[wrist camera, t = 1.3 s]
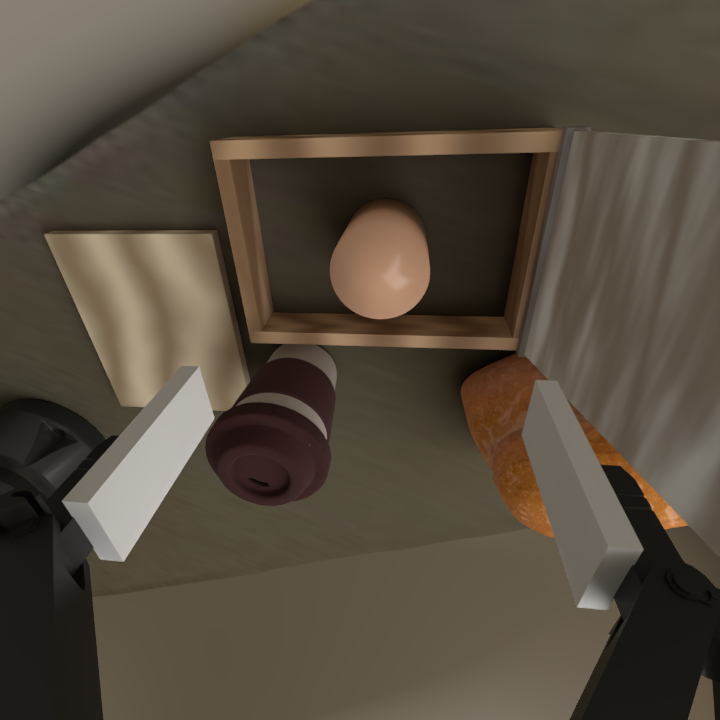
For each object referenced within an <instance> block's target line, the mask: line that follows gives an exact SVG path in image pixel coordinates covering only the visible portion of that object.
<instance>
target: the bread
mask: <svg viewBox="0 0 720 720" xmlns="http://www.w3.org/2000/svg"><path fill="white" fill-rule="evenodd" d="M535 380H548V379H547V378H546V377H545V376H544V375H543V374H542V373H541V372H540V371H539V370H538V368H537V367H536V366H535V365H534V364H533V363H532V362H531V361H530V360H529V359H528V358H527V357H518V356H517V353H515V354H513V355H510V356H508V357H506V358H503V359H501V360H498V361H496V362H494V363H491V364H489V365H487V366H485V367H483V368H482V369H480V370H478V371H476V372H474V373H472V374H471V375H470V376H469V377H468V378H467V379H466V380H465V381H464V383H463V384H462V387H461V398H462V402H463V406H464V410H465V415H466V419H467V423H468V427H469V430H470V432H471V435H472V437H473V439H474V441H475V443H476V445H477V447H478V449H479V450H480V452H481V454H482V456H483V458H484V459H485V461H486V462H487V464H488V466H489V467H490V469H491V470H492V473H493V480H494V482H495V484H496V487H497V489H498V492H499V494H500V496H501V498H502V500H503V501H504V503H505V504H506V506H507V507H508V509H509V510H510V512H511V513H512V514H513V515H514V516H515V517H516V518H517V519H518V520H519V521H520V522H521V523H523V524H524V525H526V526H528V527H529V528H531V529H533V530H535V531H537V532H539V533H541V534H543V535H546V536H549V537H552V538H555V537H554V534H553V531H552V528H551V525H550V522H549V519H548V516H547V513H546V509H545V506H544V503H543V500H542V497H541V494H540V491H539V488H538V485H537V481H536V478H535V475H534V472H533V469H532V466H531V463H530V460H529V457H528V453H527V450H526V447H525V444H524V441H523V438H522V431H523V427H524V423H525V419H526V416H527V412H528V408H529V404H530V400H531V396H532V392H533V388H534V384H535ZM567 401H568V400H567ZM568 403H569V405H570V407H571V408H572V410H573V412H574V414H575V416H576V418H577V420H578V422H579V424H580V426H581V428H582V430H583V432H584V434H585V436H586V438H587V440H588V442H589V444H590V446H591V447H592V449H593V451H594V453H595V455H596V457H597V459H598V461H599V463H600V465H614V466H621V467H622V468H623V469H624V470H625V471H626V472H628V473H629V474H630V475H631V476H632V477H633V478H634V479H635V480H636V482H637V483H638V485H639V487H640V488H641V490H642V492H643V494H644V497H645V498H646V499H647V500H648V502H649V504H650V506H651V507H652V511H654V512H655V514H656V516H657V517H658V519H659V521H660V523H661V524H662V526H663V528H664V529H669V528H674V527H681V526H687V525H688V524H687V523H686V522H685V521H684V520H683V519H682V518H681V517H680V516H679V515H678V514H677V513H676V512H675V511H674V510H673V508H672V507H671V506H670V505H669V504H668V503H667V502H666V501H665V500H664V499H663V498H662V497H661V496H660V495H659V494H658V493H657V492H656V491H655V490H654V489H653V488H652V487H651V486H650V485H649V484H648V483H647V482H646V480H645V479H644V478H643V477H642V476H641V475H640V474H639V473H638V472H637V471H636V470H635V469H634V468H633V467H632V466H631V465H630V464H629V463H628V462H627V461H626V460H625V459H624V458H623V457H622V456H621V455H620V454H619V452H618V451H617V450H616V449H615V448H614V447H613V446H612V445H611V444H610V443H609V442H608V441H607V440H606V439H605V438H604V437H603V436H602V435H601V434H600V433H599V432H598V431H597V430H596V429H595V428H594V427H593V426H592V424H591V423H590V422H589V421H588V420H587V419H586V418H585V417H584V416H583V415H582V414H581V413H580V412H579V411H578V410H577V409H576V408H575V407H574V406H573V405H572V404H571V403H570V402H569V401H568Z"/></svg>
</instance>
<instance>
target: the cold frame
mask: <svg viewBox="0 0 720 720" xmlns="http://www.w3.org/2000/svg"><path fill="white" fill-rule="evenodd" d="M590 128H591V127H563V129H561V128H555V127H554V128H520V129H486V130H452V131H418V132H383V133H349V134H315V135H281V136H246V137H228V138H223V139H217V140H212V141H210V146H211V151H212V156H213V161H214V166H215V170H216V175H217V180H218V185H219V190H220V195H221V200H222V205H223V209H224V214H225V219H226V224H227V229H228V234H229V239H230V244H231V248H232V253H233V258H234V263H235V268H236V273H237V278H238V283H239V287H240V292H241V297H242V302H243V307H244V312H245V317H246V322H247V326H248V331H249V336H250V341H251V343H273V344H308V345H344V346H379V347H415V348H450V349H486V350H516V353H517V356H518V357H527V358H528V359H529V360H530V361H531V362H532V363H533V364H534V365H535V366H536V367H537V368H538V370H539V371H540V372H541V373H542V374H543V375H544V376H545V377H546V378H547V379H548V380H553V381H558V383H559V385H560V387H561V389H562V391H563V393H564V395H565V397H566V399H567V400H568V401H569V402H570V403H571V404H572V405H573V406H574V407H575V408H576V409H577V410H578V411H579V412H580V413H581V414H582V415H583V416H584V417H585V418H586V419H587V420H588V421H589V422H590V423H591V424H592V426H593V427H594V428H595V429H596V430H597V431H598V432H599V433H600V434H601V435H602V436H603V437H604V438H605V439H606V440H607V441H608V442H609V443H610V444H611V445H612V446H613V447H614V448H615V449H616V450H617V451H618V452H619V454H620V455H621V456H622V457H623V458H624V459H625V460H626V461H627V462H628V463H629V464H630V465H631V466H632V467H633V468H634V469H635V470H636V471H637V472H638V473H639V474H640V475H641V476H642V477H643V478H644V479H645V480H646V482H647V483H648V484H649V485H650V486H651V487H652V488H653V489H654V490H655V491H656V492H657V493H658V494H659V495H660V496H661V497H662V498H663V499H664V500H665V501H666V502H667V503H668V504H669V505H670V506H671V507H672V508H673V510H674V511H675V512H676V513H677V514H678V515H679V516H680V517H681V518H682V519H683V520H684V521H685V522H686V523H687V524H688V525H689V526H690V527H691V528H692V529H693V530H694V531H695V532H696V533H697V534H698V535H699V536H700V538H702V539H703V541H704V542H705V543H706V544H707V545H708V546H709V547H710V548H711V549H712V550H713V551H714V552H715V553H716V554H717V555H718V556H719V557H720V141H716V140H703V139H689V138H676V137H663V136H649V135H636V134H623V133H609V132H596V131H590ZM492 153H533V158H532V164H531V169H530V175H529V180H528V186H527V191H526V197H525V202H524V208H523V213H522V219H521V225H520V230H519V236H518V241H517V247H516V252H515V258H514V263H513V269H512V274H511V280H510V286H509V291H508V297H507V302H506V308H505V313H504V317H483V316H432V315H400V316H397V317H394V318H389V319H372V318H367V317H364V316H361V315H359V314H330V313H279V312H274V309H273V303H272V297H271V291H270V284H269V278H268V272H267V266H266V260H265V253H264V247H263V241H262V235H261V229H260V222H259V216H258V210H257V204H256V198H255V191H254V185H253V179H252V173H251V167H250V161H249V159H274V158H318V157H361V156H405V155H448V154H492Z"/></svg>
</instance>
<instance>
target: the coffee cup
mask: <svg viewBox="0 0 720 720" xmlns="http://www.w3.org/2000/svg"><path fill="white" fill-rule="evenodd" d="M336 379H337V370H336V366H335V363H334V361H333V359H332V358H331V356H330V355H329V354H328V353H327V352H326V351H325V350H324V349H322V348H321V347H319V346H317V345H308V344H284V345H282V346H280V347H279V348H277V349H276V350H275V351H274V353H273V354H272V356H271V357H270V358H269V360H268V361H267V363H266V364H264V365H263V366H262V367H261V368H260V369H259V370H258V371H257V373H256V374H255V376H254V377H253V378H252V380H251V381H250V382H249V384H248V385H247V387H246V388H245V389H244V391H243V392H242V393H241V395H240V396H239V398H238V399H237V400H236V402H235V403H234V405H233V406H232V408H230V409H229V410H227V411H225V412H224V413H223V414H222V415H221V416H220V417H219V418H218V419H217V420H216V422H215V424H214V425H213V427H212V429H211V430H210V432H209V434H208V436H207V439H206V446H205V448H206V455H207V458H208V461H209V463H210V465H211V467H212V469H213V470H214V472H215V473H216V474H217V475H218V476H219V478H220V480H221V481H222V483H223V484H224V486H225V487H226V488H227V489H228V490H230V491H231V492H232V493H233V494H235V495H236V496H238V497H240V498H242V499H244V500H246V501H248V502H252V503H255V504H259V505H267V506H277V505H282V504H286V503H289V502H292V501H298V500H301V499H304V498H307V497H309V496H310V495H312V494H314V493H315V492H316V491H318V490H319V489H320V488H321V487H322V485H323V484H324V482H325V480H326V478H327V475H328V471H329V467H330V462H331V452H330V447H329V439H330V433H331V426H332V420H333V413H334V406H335V385H336Z"/></svg>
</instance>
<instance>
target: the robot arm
mask: <svg viewBox="0 0 720 720" xmlns="http://www.w3.org/2000/svg"><path fill="white" fill-rule="evenodd" d="M213 420H214V415H213V411H212V408H211V405H210V401H209V398H208V394H207V391H206V388H205V384H204V381H203V378H202V374H201V371H200V368H199V366H181V367H180V368H179V369H178V370H177V371H176V373H175V374H174V375H173V376H172V377H171V378H170V379H169V380H168V382H167V383H166V384H165V385H164V386H163V387H162V388H161V389H160V391H159V392H158V393H157V394H156V395H155V396H154V397H153V399H152V400H151V401H150V402H149V403H148V404H147V405H146V406H145V408H144V409H143V410H142V411H141V412H140V413H139V414H138V415H137V417H136V418H135V419H134V420H133V421H132V422H131V423H130V424H129V426H128V427H127V428H126V429H125V430H124V431H123V432H122V434H121V435H120V436H111V437H109V438H108V439H106V440H104V438H103V437H102V436H101V435H100V433H99V432H98V431H97V430H96V429H95V428H94V427H93V426H91V425H90V424H89V423H88V422H87V421H85V420H84V419H82V418H81V417H79V416H78V415H76V414H75V413H73V412H71V411H69V410H67V409H65V408H63V407H61V406H58V405H55V404H53V403H49V402H46V401H41V400H35V399H20V400H15V401H12V402H10V403H8V404H6V405H5V406H4V407H2V408H1V409H0V720H103V713H102V701H101V690H100V680H99V669H98V657H97V646H96V636H95V625H94V614H93V602H92V591H91V580H90V569H89V564H88V562H87V560H86V557H87V556H88V555H89V553H90V552H91V550H92V549H94V550H95V552H96V553H97V555H98V556H99V558H100V559H101V560H110V561H120V562H124V560H125V559H126V557H127V556H128V554H129V553H130V551H131V549H132V548H133V546H134V545H135V543H136V542H137V540H138V538H139V537H140V535H141V534H142V532H143V530H144V529H145V527H146V526H147V524H148V523H149V521H150V519H151V518H152V516H153V515H154V513H155V512H156V510H157V508H158V507H159V505H160V504H161V502H162V500H163V499H164V497H165V496H166V494H167V493H168V491H169V489H170V488H171V486H172V485H173V483H174V482H175V480H176V478H177V477H178V475H179V474H180V472H181V470H182V469H183V467H184V466H185V464H186V463H187V461H188V459H189V458H190V456H191V455H192V453H193V452H194V450H195V448H196V447H197V445H198V444H199V442H200V440H201V439H202V437H203V436H204V434H205V433H206V431H207V429H208V428H209V426H210V425H211V423H212V422H213ZM522 438H523V441H524V444H525V447H526V450H527V453H528V457H529V460H530V463H531V466H532V469H533V472H534V475H535V478H536V481H537V485H538V488H539V491H540V494H541V497H542V500H543V503H544V506H545V509H546V513H547V516H548V519H549V522H550V525H551V528H552V531H553V534H554V537H555V540H556V543H557V547H558V550H559V553H560V556H561V559H562V562H563V565H564V568H565V571H566V575H567V578H568V581H569V584H570V587H571V590H572V593H573V596H574V600H575V603H576V606H577V607H581V608H591V609H600V610H608V608H609V607H610V605H611V603H612V601H613V599H615V601H616V604H617V606H618V609H619V611H620V614H621V616H620V617H619V619H618V620H617V622H616V623H615V625H614V626H613V628H612V630H611V631H610V633H609V634H610V637H609V639H608V641H607V643H606V645H605V647H604V649H603V652H602V654H601V656H600V658H599V660H598V662H597V664H596V666H595V668H594V670H593V672H592V674H591V676H590V679H589V681H588V683H587V685H586V687H585V689H584V691H583V693H582V695H581V697H580V699H579V701H578V703H577V705H576V708H575V710H574V712H573V714H572V716H571V718H570V720H688V716H689V713H690V710H691V706H692V703H693V699H694V696H695V693H696V689H697V686H698V683H699V679H700V676H701V675H702V676H705V677H707V678H709V679H712V681H713V695H714V710H715V720H720V589H717V588H715V586H714V585H713V584H712V583H711V582H710V580H709V579H708V578H707V577H706V576H705V575H703V574H702V573H701V572H700V571H698V570H697V569H695V568H694V567H693V566H691V565H688V564H686V563H685V562H684V561H683V560H682V558H681V557H680V555H679V553H678V552H677V550H676V548H675V547H674V545H673V543H672V541H671V540H670V538H669V536H668V535H667V533H666V531H665V529H664V528H663V526H662V524H661V523H660V521H659V519H658V517H657V516H656V514H655V512H654V511H652V507H651V506H650V504H649V502H648V500H647V499H646V498H645V497H644V494H643V492H642V490H641V488H640V487H639V485H638V483H637V482H636V480H635V479H634V478H633V477H632V476H631V475H630V474H629V473H628V472H626V471H625V470H624V469H623V468H622V467H621V466H614V465H600V463H599V461H598V459H597V457H596V455H595V453H594V451H593V449H592V447H591V446H590V444H589V442H588V440H587V438H586V436H585V434H584V432H583V430H582V428H581V426H580V424H579V422H578V420H577V418H576V416H575V414H574V412H573V410H572V408H571V407H570V405H569V403H568V401H567V399H566V397H565V395H564V393H563V391H562V389H561V387H560V385H559V383H558V381H553V380H535V384H534V388H533V392H532V396H531V400H530V404H529V408H528V412H527V416H526V419H525V423H524V427H523V431H522Z"/></svg>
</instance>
